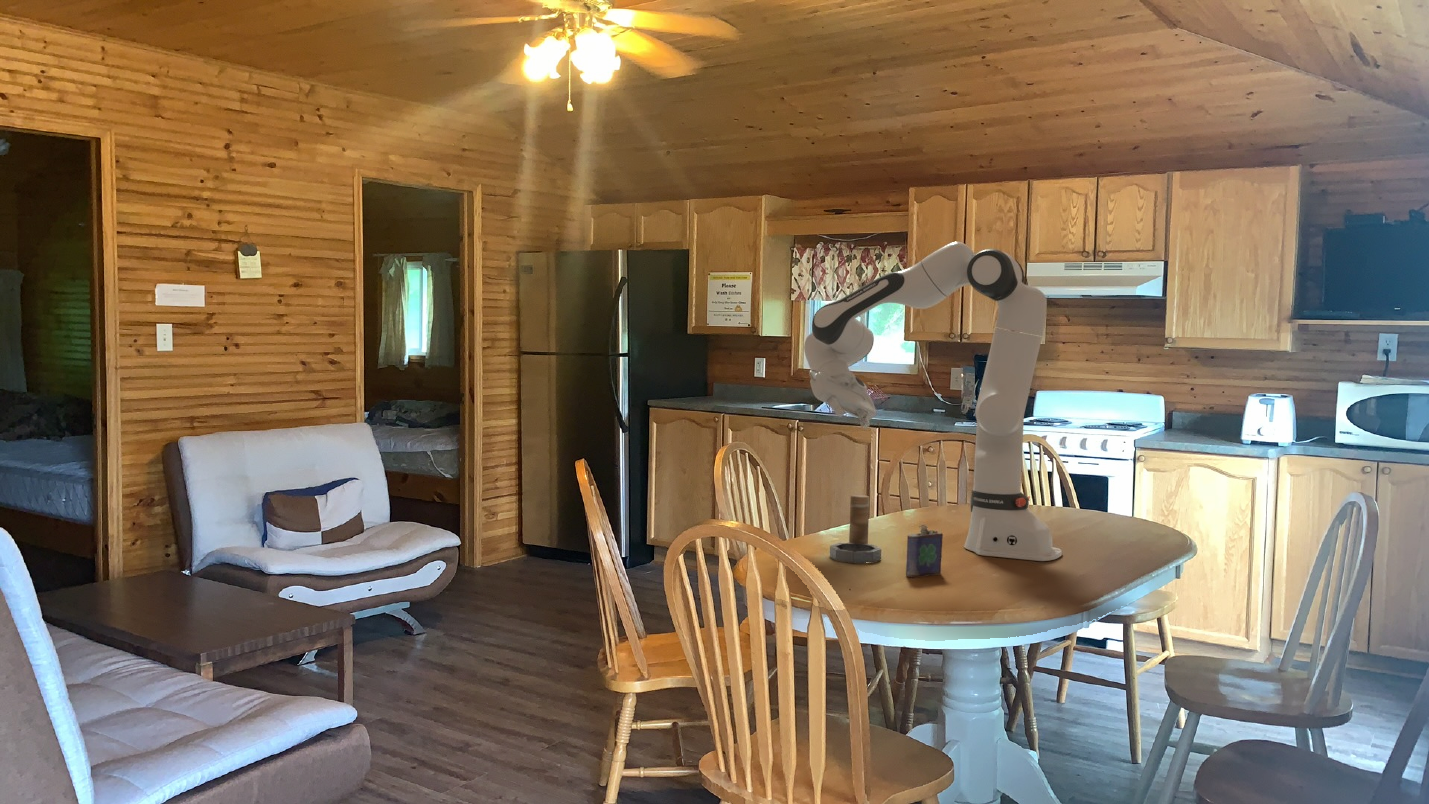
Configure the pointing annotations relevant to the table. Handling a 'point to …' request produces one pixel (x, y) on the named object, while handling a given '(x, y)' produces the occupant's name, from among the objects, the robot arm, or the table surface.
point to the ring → (855, 552)
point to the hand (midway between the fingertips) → (853, 420)
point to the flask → (924, 553)
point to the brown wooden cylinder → (859, 519)
